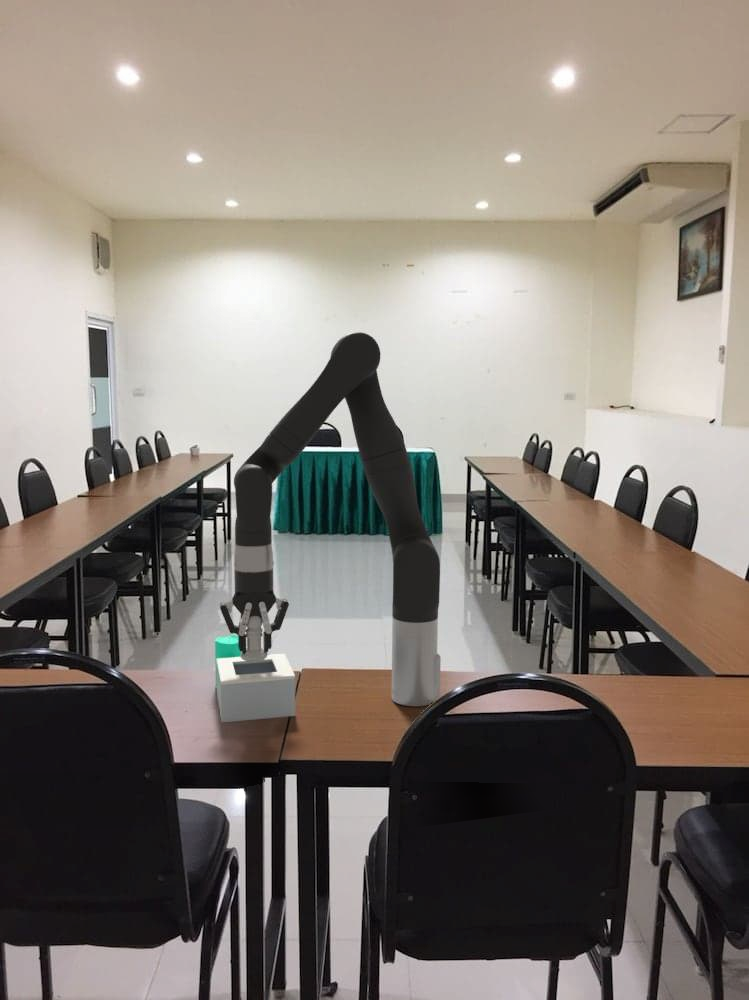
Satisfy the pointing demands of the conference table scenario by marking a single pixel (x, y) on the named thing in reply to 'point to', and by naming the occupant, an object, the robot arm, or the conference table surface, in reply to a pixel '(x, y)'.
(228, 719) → the tissue box
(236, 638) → the candle
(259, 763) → the conference table surface
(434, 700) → the robot arm
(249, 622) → the chess piece
